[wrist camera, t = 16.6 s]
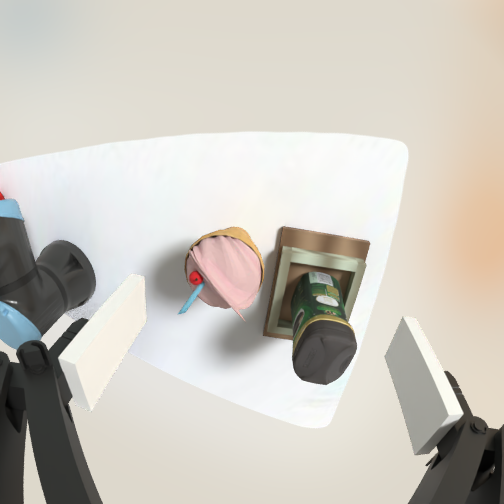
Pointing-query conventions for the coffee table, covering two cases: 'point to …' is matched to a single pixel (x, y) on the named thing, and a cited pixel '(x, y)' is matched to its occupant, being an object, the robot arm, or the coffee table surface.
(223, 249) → the ice cream cone
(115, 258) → the coffee table surface
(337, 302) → the coffee jar
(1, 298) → the robot arm
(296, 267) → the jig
